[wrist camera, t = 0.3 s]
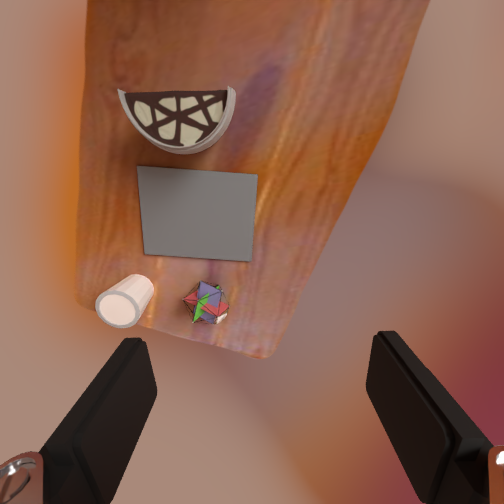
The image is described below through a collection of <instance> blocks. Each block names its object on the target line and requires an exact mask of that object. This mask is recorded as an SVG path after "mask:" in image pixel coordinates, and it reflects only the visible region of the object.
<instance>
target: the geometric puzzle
mask: <svg viewBox="0 0 504 504" xmlns="http://www.w3.org/2000/svg"><path fill="white" fill-rule="evenodd" d="M207 283H208V282H207ZM211 284H212V283H211ZM219 286H220V285H217V287H216V288H215V286H211V285H209V284H206V283H204V281H203V282H202V281H201V280H200V283H199V286H198V288H199V290H198V289H197V291H195V292H193V293H192V294H190V295H189V296H187V297H186V298H184V299H183V301H184V300H185V301H187V302H189V303H191V304H193V305H194V310H193V312H192V311H191V312H192V313H193V314H195V315H194V319H193V321H192V323H195V322H194V321H195V320H196V319H198V318H199V317H200V318H202V319H204V320H206V321H208V322H210V323H212V324H217V323H218V322H219V321H220V320H221V319H222V318H223V317H224V316H225V317H226V315H227V312H228V310H227V312H226V314H224V315H222V316H220V315H221V314H223V313H224V312H225V310H226V309H227V308H228V307H229V306H230V305H227V304H225V303H223V302H221V301H219V300H221V298H220V296H221V294H222V290H219ZM192 290H193V289H192ZM192 290H191V291H192ZM191 291H190V292H191ZM190 292H189V293H190ZM185 301H184V302H185ZM185 303H186V302H185ZM186 305H187V304H186ZM187 306H188V305H187ZM186 308H187V307H186ZM189 309H190V308H189ZM228 309H229V308H228ZM190 310H191V309H190ZM189 315H190V314H189ZM215 316H216V318H218V319H217V322H216V323H215V322H214V319H215ZM190 317H191V316H190ZM225 317H224V318H225ZM224 318H223V319H224ZM223 319H222V320H223ZM222 320H221V321H222ZM201 321H203V320H201ZM215 321H216V320H215ZM221 321H220V322H221ZM196 322H198V321H196ZM213 322H214V323H213ZM205 324H207V323H205Z"/></svg>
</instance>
